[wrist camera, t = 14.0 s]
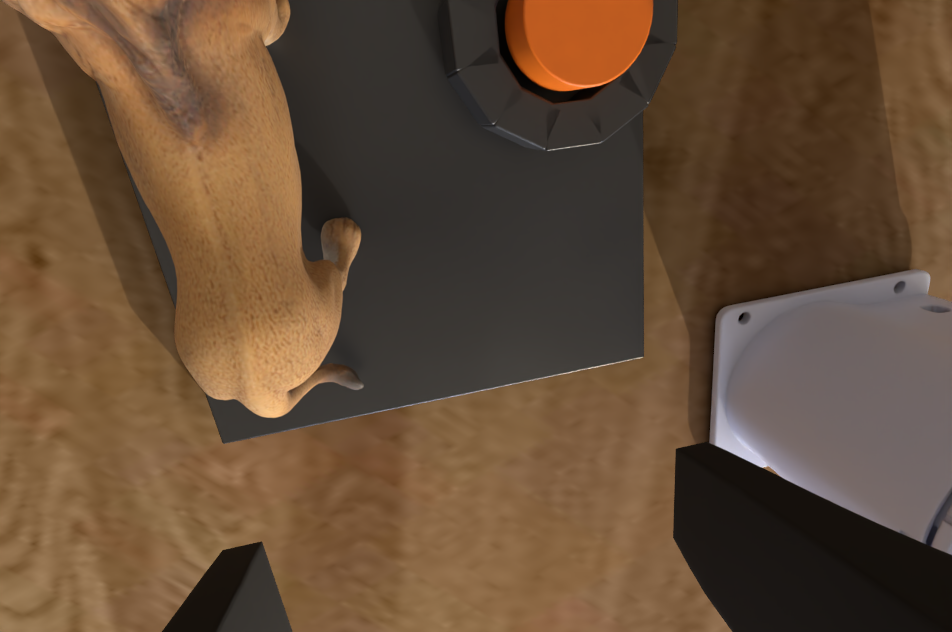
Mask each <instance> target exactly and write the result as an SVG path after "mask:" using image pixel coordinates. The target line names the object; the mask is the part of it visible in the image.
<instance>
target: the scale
mask: <svg viewBox="0 0 952 632" xmlns="http://www.w3.org/2000/svg"><path fill="white" fill-rule="evenodd" d="M288 2H289V6H290V18H289V21H288V24H287V26H286V28H285V30H284V32H283V34H282V35H281V36H280V37H279V38H278V39H277V40H276V41H274V42H273V43H271V44H270V45H267V46H266V48H267V50H268V52H269V54H270V56H271V58H272V61H273V63H274V66H275V68H276V71H277V73H278V76H279V79H280V81H281V84H282V87H283V90H284V93H285V96H286V100H287V104H288V108H289V113H290V118H291V124H292V129H293V136H294V144H295V149H296V153H297V157H298V162H299V168H300V174H301V187H302V212H301V238H302V249H303V252H304V254H305V257H306V259H307V260H308V261H310V262H315V261H318V260H324V258H323V250H322V244H321V232H322V227H323V225H324V224H325V222H327V221H328V220H331V219H334V218H342V217H347V218H350V219H351V220H353V221H354V222H355V223H356V224H357V225H358V226H359V228H360V230H361V241H360V245H359V248H358V250H357V253H356V255H355V257H354V259H353V261H352V262H351V265H350V267H349V270H348V275H347V281H346V286H345V288H344V290H343V301H342V311H341V319H340V324H339V329H338V332H337V335H336V337H335V339H334V342H333V344H332V346H331V347H330V349H329V351H328V353H327V355H326V356H325V358H324V359H323V361H322V363H321V364H320V366H322V365H325V364H330V363H333V364H340V365H346V366H348V367H351V368H353V369H354V370H355V371H356V373H357V374H358V377H359V379H360V380H361V381H362V383H363V384H364V387H363V388H361V389H359V390H353V389H350V388H348V387H346V386H342V385H340V384H338V383H335V382H324V383H319V384H317V385H315V386H314V387H313V388H312V389H311V390H310V391H308V392H307V393H306V394H305V395H304V396H303V397H302V398H301V399H300V401H299V402H298V403H297V404H296V405H295V406H294V407H293V408H292V409H291V410H290V411H289V412H288V413H286V414H285V415H283V416H280V417H276V418H267V417H261V416H259V415H257V414H255V413H253V412H252V411H251V410H249V409H248V408H247V407H245V406H244V405H243V404H242V403H241V402H240V401H238V400H236V399H230V400H219V399H215V398H213V397H211V396H209V395H208V394H207V393H206V392H205V394H206V397H207V400H208V403H209V405H210V408H211V411H212V414H213V417H214V420H215V422H216V425H217V428H218V431H219V434H220V437H221V439H222V442H223V443H224V444H225V443H230V442H235V441H240V440H245V439H250V438H255V437H260V436H264V435H269V434H274V433H279V432H284V431H289V430H294V429H298V428H303V427H308V426H313V425H318V424H323V423H328V422H333V421H337V420H342V419H347V418H352V417H357V416H362V415H367V414H372V413H376V412H381V411H386V410H391V409H396V408H401V407H406V406H410V405H415V404H420V403H425V402H430V401H435V400H440V399H445V398H449V397H454V396H459V395H464V394H469V393H474V392H479V391H483V390H488V389H493V388H498V387H503V386H508V385H513V384H518V383H522V382H527V381H532V380H537V379H542V378H547V377H552V376H556V375H561V374H566V373H571V372H576V371H581V370H586V369H591V368H595V367H600V366H605V365H610V364H615V363H620V362H625V361H630V360H634V359H639V358H643V357H644V270H643V110H644V109H645V108H647V107H648V104H649V103H650V102H651V99H652V97H653V95H654V93H655V91H656V89H657V87H658V85H659V82H660V80H661V78H662V76H663V74H664V72H665V70H666V68H667V65H668V63H669V61H670V59H671V57H672V55H673V53H674V51H675V48H676V46H675V45H676V43H677V17H678V0H653V16H652V22H651V27H650V31H649V34H648V37H647V40H646V42H645V45H644V46H643V48H642V50H641V52H640V54H639V55H638V57H637V58H636V60H635V61H634V62H633V63H632V65H631V66H630V67H629V68H628V69H627V70H626V71H625V72H624V73H623V74H621V75H620V76H618V77H617V78H616V79H614V80H612V81H610V82H608V83H606V84H603V85H600V86H595V87H590V88H584V89H578V90H572V91H561V92H560V91H552V90H548V89H545V88H542V87H540V86H538V85H536V84H535V83H533V82H532V81H530V80H529V79H528V78H527V77H526V76H525V75H524V74H523V73H522V72H521V71H520V69H519V68H518V67H517V65H516V64H515V62H514V60H513V58H512V56H511V54H510V51H509V48H508V45H507V41H506V35H505V12H506V7H507V2H508V0H288ZM96 84H97V87H98V90H99V93H100V96H101V98H102V101H103V104H104V107H105V110H106V113H107V115H108V118H109V121H110V117H109V114H108V111H107V107H106V104H105V101H104V98H103V95H102V92H101V89H100V87H99V84H98V83H97V81H96ZM110 124H111V121H110ZM111 127H112V124H111ZM112 130H113V127H112ZM113 132H114V130H113ZM114 135H115V133H114ZM115 138H116V136H115ZM116 141H117V140H116ZM117 144H118V143H117ZM118 147H119V146H118ZM119 150H120V148H119ZM120 152H121V150H120ZM121 155H122V153H121ZM122 158H123V161H124V164H125V167H126V169H127V172H128V175H129V178H130V181H131V184H132V186H133V189H134V192H135V195H136V198H137V201H138V204H139V206H140V209H141V212H142V215H143V218H144V221H145V223H146V226H147V229H148V232H149V235H150V238H151V240H152V243H153V246H154V249H155V252H156V255H157V258H158V260H159V263H160V266H161V269H162V272H163V275H164V277H165V280H166V283H167V286H168V289H169V292H170V295H171V297H172V300H173V303H174V306H175V309H176V303H177V277H176V270H175V266H174V263H173V259H172V256H171V253H170V251H169V248H168V246H167V243H166V241H165V239H164V237H163V235H162V233H161V231H160V229H159V227H158V225H157V223H156V221H155V219H154V217H153V216H152V214H151V212H150V210H149V209H148V207H147V205H146V204H145V202H144V200H143V198H142V196H141V194H140V192H139V190H138V188H137V186H136V184H135V182H134V180H133V177H132V175H131V173H130V171H129V168H128V166H127V164H126V162H125V159H124V157H123V155H122Z"/></svg>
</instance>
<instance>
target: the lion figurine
mask: <svg viewBox="0 0 952 632" xmlns="http://www.w3.org/2000/svg"><path fill="white" fill-rule="evenodd" d="M2 1H3V2H4V3H5V4H7V5H9V6H11V7H12V8H14V9H16V10H17V11H19V12H21V13H23V14H24V15H25V16H27V17H28V18H30V19H31V20H32V21H34V22H35V23H36V24H38V25H40V26H41V27H43V28H45V29H47V30H48V31H50V32H51V33H52V34H53V35H54V36H55V37H56V38H57V39H58V41H59V42H60V43H61V45H62V46H63V47H64V49H65V50H66V51H67V52H68V53H69V55H70V56H71V57H72V58H73V59H74V61H75V62H76V63H77V64H78V65H79V67H80V68H81V69H82V70H83V71H84V72H85V73H86V74H87V75H89V76H90V77H91V78H93V79H94V80H95V81H97V83H98V84H99V87H100V89H101V92H102V95H103V98H104V101H105V104H106V107H107V111H108V114H109V117H110V121H111V124H112V127H113V130H114V133H115V136H116V140H117V143H118V146H119V148H120V150H121V153H122V155H123V157H124V159H125V162H126V164H127V166H128V168H129V171H130V173H131V175H132V177H133V180H134V182H135V184H136V186H137V188H138V190H139V192H140V194H141V196H142V198H143V200H144V202H145V204H146V205H147V207H148V209H149V210H150V212H151V214H152V216H153V217H154V219H155V221H156V223H157V225H158V227H159V229H160V231H161V233H162V235H163V237H164V239H165V241H166V243H167V246H168V248H169V251H170V253H171V256H172V259H173V263H174V266H175V270H176V277H177V303H176V317H175V328H174V334H175V344H176V347H177V350H178V353H179V355H180V358H181V360H182V362H183V363H184V365H185V366H186V368H187V369H188V371H189V372H190V374H191V375H192V376H193V378H194V379H195V381H196V382H197V383H198V385H199V386H200V387H201V388H202V389H203V390H204V391H205V392H206V393H207V394H208V395H209V396H211V397H213V398H215V399H219V400H230V399H236V400H238V401H240V402H241V403H242V404H243V405H244V406H245V407H247V408H248V409H249V410H251V411H252V412H253V413H255V414H257V415H259V416H261V417H267V418H276V417H280V416H283V415H285V414H286V413H288V412H289V411H290V410H291V409H292V408H293V407H294V406H295V405H296V404H297V403H298V402H299V401H300V399H301V398H302V397H303V396H304V395H305V394H306V393H307V392H308V391H310V390H311V389H312V388H313V387H314V386H315V385H317V384H319V383H324V382H335V383H338V384H340V385H342V386H346V387H348V388H350V389H353V390H359V389H361V388H363V387H364V384H363V383H362V381H361V380H360V379H359V377H358V374H357V373H356V371H355V370H354V369H353V368H351V367H348V366H346V365H340V364H333V363H330V364H325V365H322V366H320V364H321V363H322V361H323V359H324V358H325V356H326V355H327V353H328V351H329V349H330V347H331V346H332V344H333V342H334V339H335V337H336V335H337V332H338V329H339V324H340V319H341V311H342V301H343V290H344V288H345V286H346V281H347V275H348V270H349V267H350V265H351V262H352V261H353V259H354V257H355V255H356V253H357V250H358V248H359V245H360V241H361V230H360V228H359V226H358V225H357V224H356V223H355V222H354V221H353V220H351V219H350V218H347V217H342V218H334V219H331V220H328V221H327V222H325V224H324V225H323V227H322V232H321V244H322V250H323V258H324V260H318V261H315V262H310V261H308V260H307V259H306V257H305V254H304V252H303V249H302V238H301V212H302V187H301V174H300V168H299V162H298V157H297V153H296V149H295V144H294V136H293V129H292V124H291V118H290V113H289V108H288V104H287V100H286V96H285V93H284V90H283V87H282V84H281V81H280V79H279V76H278V73H277V71H276V68H275V66H274V63H273V61H272V58H271V56H270V54H269V52H268V50H267V48H266V46H267V45H270V44H271V43H273V42H274V41H276V40H277V39H278V38H279V37H280V36H281V35H282V34H283V32H284V30H285V28H286V26H287V24H288V21H289V18H290V6H289V2H288V0H2Z"/></svg>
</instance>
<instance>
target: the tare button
mask: <svg viewBox="0 0 952 632" xmlns="http://www.w3.org/2000/svg"><path fill="white" fill-rule="evenodd" d="M652 16H653V0H508V2H507V7H506V12H505V35H506V41H507V45H508V48H509V51H510V54H511V56H512V58H513V60H514V62H515V64H516V65H517V67H518V68H519V69H520V71H521V72H522V73H523V74H524V75H525V76H526V77H527V78H528V79H529V80H530V81H532V82H533V83H535V84H536V85H538V86H540V87H542V88H545V89H548V90H552V91H560V92H561V91H572V90H578V89H584V88H590V87H595V86H600V85H603V84H606V83H608V82H610V81H612V80H614V79H616V78H617V77H618V76H620V75H621V74H623V73H624V72H625V71H626V70H627V69H628V68H629V67H630V66H631V65H632V63H633V62H634V61H635V60H636V58H637V57H638V55H639V54H640V52H641V50H642V48H643V46H644V45H645V42H646V40H647V37H648V34H649V31H650V27H651V22H652Z"/></svg>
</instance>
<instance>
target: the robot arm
mask: <svg viewBox="0 0 952 632" xmlns="http://www.w3.org/2000/svg"><path fill="white" fill-rule="evenodd" d="M929 284H930V275H929V273H928V272H926V271H923V270H919V269H913V270H908V271H903V272H898V273H893V274H888V275H883V276H878V277H873V278H867V279H862V280H857V281H852V282H847V283H842V284H837V285H832V286H826V287H821V288H816V289H811V290H806V291H801V292H796V293H791V294H785V295H780V296H775V297H770V298H765V299H760V300H755V301H750V302H745V303H739V304H734V305H729V306H726V307H723V308H722V309H721V310H720V311H719V312H718V314H717V316H716V323H715V342H714V362H713V382H712V401H711V421H710V441H709V442H704V443H700V444H696V445H691V446H687V447H682V448H678V449H676V463H675V497H674V531H673V538H674V540H675V542H676V543H677V545H678V547H679V549H680V551H681V553H682V554H683V556H684V558H685V560H686V562H687V563H688V565H689V567H690V569H691V571H692V572H693V574H694V576H695V577H696V579H697V581H698V582H699V584H700V586H701V588H702V589H703V591H704V593H705V594H706V595H707V597H708V598H709V600H710V601H711V603H712V604H713V605H714V607H715V608H716V610H717V611H718V612H719V614H720V615H721V616H722V618H723V619H724V621H725V622H726V623H727V625H728V626H729V628H730V629H731V630H732V632H952V302H950V301H947V300H944V299H940V298H937V297H934V296H930V295H927V294H928V289H929ZM742 313H744V315H743V317H742V319H741V320H738V319H739V316H740V315H741V314H742ZM766 466H769V467H771V468H772V469H773V470H774V471H775V472H776V473H778V474H779V475H780V476H781V477H780V476H778V475H776V474H774V473H772V472H770V471H767V470H765V469H763V468H762V467H766ZM162 632H292V629H291V626H290V623H289V620H288V617H287V614H286V611H285V608H284V605H283V603H282V600H281V597H280V594H279V591H278V588H277V585H276V582H275V579H274V576H273V573H272V570H271V567H270V564H269V561H268V558H267V555H266V552H265V549H264V546H263V543H262V542H257V543H253V544H249V545H244V546H240V547H235V548H231V549H226V550H223V551H222V552H221V553H220V554H219V556H218V557H217V558H216V560H215V561H214V562H213V564H212V565H211V566H210V568H209V569H208V570H207V572H206V573H205V574H204V576H203V577H202V578H201V580H200V581H199V582H198V584H197V585H196V586H195V588H194V589H193V590H192V592H191V593H190V594H189V596H188V597H187V599H186V600H185V601H184V603H183V604H182V605H181V607H180V608H179V609H178V611H177V612H176V613H175V615H174V616H173V617H172V619H171V620H170V622H169V623H168V624H167V626H166V627H165V628H164V630H163V631H162Z"/></svg>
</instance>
